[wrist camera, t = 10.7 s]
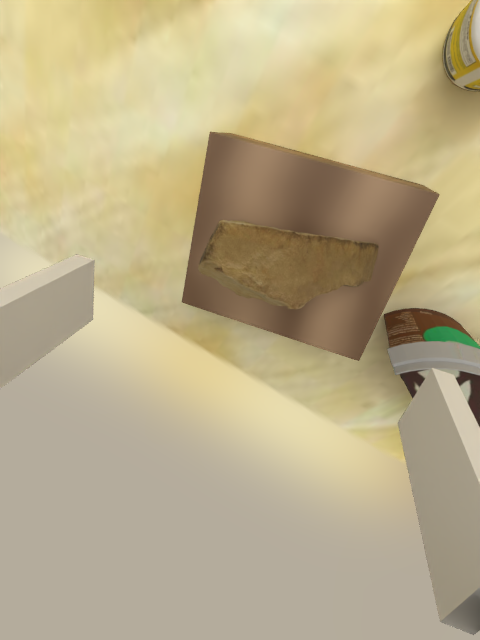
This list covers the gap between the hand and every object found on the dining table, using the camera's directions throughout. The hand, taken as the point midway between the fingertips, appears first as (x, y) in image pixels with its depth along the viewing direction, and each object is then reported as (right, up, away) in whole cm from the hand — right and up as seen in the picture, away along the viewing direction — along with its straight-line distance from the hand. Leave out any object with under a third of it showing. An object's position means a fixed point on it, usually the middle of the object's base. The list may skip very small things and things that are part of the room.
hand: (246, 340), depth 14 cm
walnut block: (+4, +7, +15) cm, 17 cm away
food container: (+17, -1, +16) cm, 23 cm away
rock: (+3, +5, +11) cm, 12 cm away
